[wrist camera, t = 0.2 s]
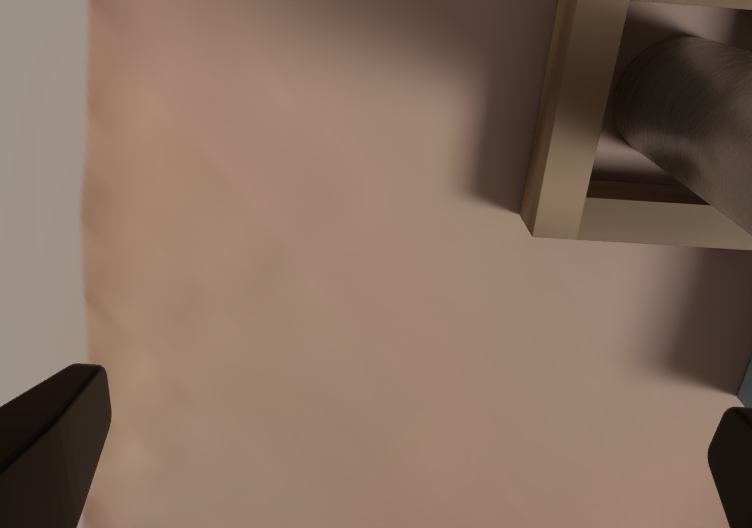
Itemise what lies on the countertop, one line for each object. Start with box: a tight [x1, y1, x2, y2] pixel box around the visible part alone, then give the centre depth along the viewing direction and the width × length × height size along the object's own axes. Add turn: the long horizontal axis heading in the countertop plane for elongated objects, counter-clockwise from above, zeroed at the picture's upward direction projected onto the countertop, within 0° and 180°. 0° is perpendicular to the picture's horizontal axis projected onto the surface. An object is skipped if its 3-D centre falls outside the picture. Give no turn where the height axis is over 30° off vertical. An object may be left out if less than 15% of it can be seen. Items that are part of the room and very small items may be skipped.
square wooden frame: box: [520, 0, 752, 250], centre depth 21 cm, size 9×9×2 cm
